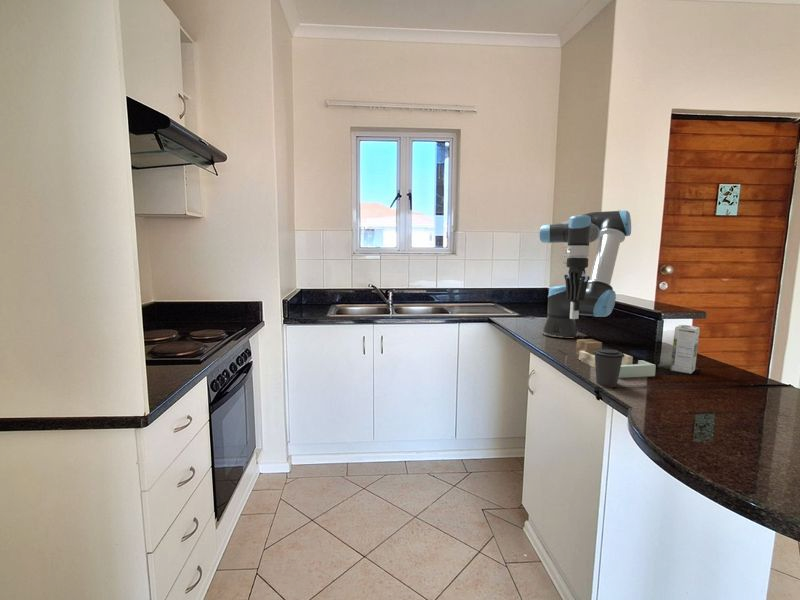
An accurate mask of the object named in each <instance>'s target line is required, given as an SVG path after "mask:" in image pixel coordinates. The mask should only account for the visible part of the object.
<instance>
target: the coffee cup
mask: <svg viewBox="0 0 800 600" xmlns="http://www.w3.org/2000/svg"><path fill="white" fill-rule="evenodd" d="M593 353H594V354H595V368H594V369H595V379H596V380H595V381H596V384H597V385H599V386H604V387H612V388H613V387H617V386H618V381H619V373H620V368H621V363H622V358H623V357H624V354H625V353H624V352H621V351H619V350H616V349H613V350H612V349H611V348H602V349H598V350H595V351H594V352H593ZM623 353H624V354H623Z"/></svg>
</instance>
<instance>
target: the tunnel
mask: <svg viewBox="0 0 800 600" xmlns="http://www.w3.org/2000/svg"><path fill="white" fill-rule="evenodd" d="M612 350H614V349H612ZM622 353H623V354H624V357H623V358H622V363H621V365H633V362H634V361H633V359H634V357H633V356H632V355H629V354H627V353H624V352H622ZM578 359H579V360H581V361H582V362H581V361H580V362H581V363H583V362H584V363H583V364H585V363H586V364H585V365H587V364H588V365H587V366H590V367H592V368H594V369H596V368H595V355H592V354H590V353H588V352H585V351H579V356H578ZM579 360H578V361H579Z"/></svg>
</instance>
